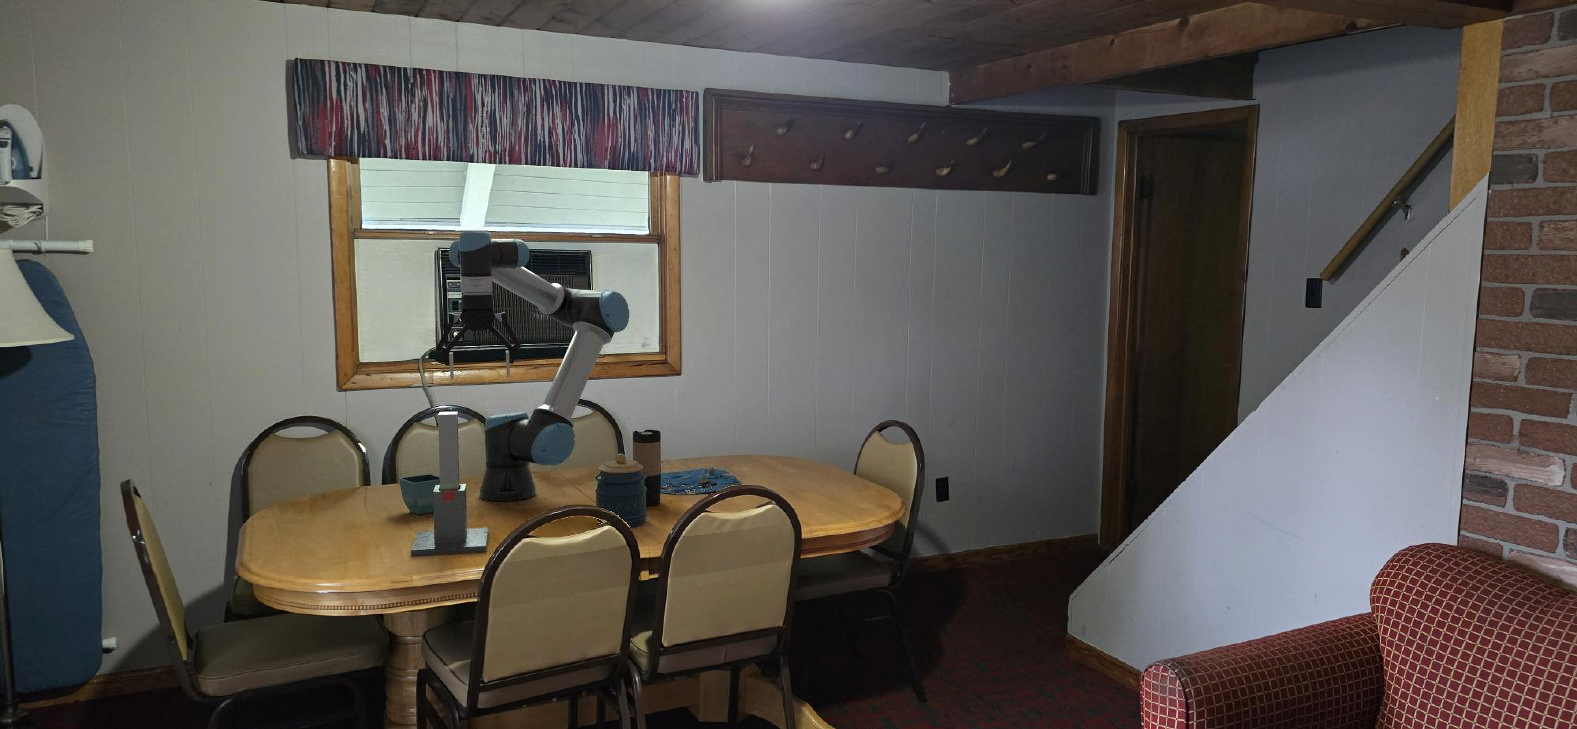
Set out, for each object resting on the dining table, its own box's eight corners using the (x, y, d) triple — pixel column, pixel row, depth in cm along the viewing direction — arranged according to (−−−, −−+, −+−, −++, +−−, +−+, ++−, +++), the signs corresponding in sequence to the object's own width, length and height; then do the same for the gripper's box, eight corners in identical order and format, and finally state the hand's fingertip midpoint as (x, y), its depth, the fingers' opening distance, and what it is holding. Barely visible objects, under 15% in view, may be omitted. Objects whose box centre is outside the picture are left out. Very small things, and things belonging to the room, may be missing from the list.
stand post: (440, 513, 233) (438, 414, 231) (442, 509, 237) (439, 412, 235) (459, 512, 234) (456, 414, 232) (460, 508, 238) (457, 411, 236)
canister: (601, 515, 265) (600, 448, 263) (650, 516, 265) (650, 449, 263) (590, 528, 252) (589, 458, 250) (642, 529, 252) (641, 459, 250)
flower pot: (431, 505, 273) (430, 473, 272) (446, 512, 266) (446, 478, 265) (399, 511, 266) (398, 477, 266) (414, 517, 260) (413, 483, 259)
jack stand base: (411, 556, 227) (409, 497, 226) (418, 537, 242) (416, 481, 241) (485, 552, 231) (484, 494, 230) (488, 533, 246) (487, 478, 245)
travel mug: (655, 508, 272) (655, 434, 270) (628, 506, 274) (628, 433, 272) (664, 501, 280) (664, 430, 278) (638, 500, 281) (638, 428, 279)
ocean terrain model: (706, 506, 282) (706, 488, 281) (621, 491, 297) (621, 474, 296) (762, 482, 307) (762, 465, 307) (681, 469, 322) (681, 453, 322)
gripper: (423, 295, 247) (427, 381, 250) (528, 293, 254) (531, 377, 257) (425, 293, 254) (429, 377, 257) (528, 291, 261) (530, 373, 264)
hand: (480, 377), depth 257 cm, fingers open, 13 cm apart
